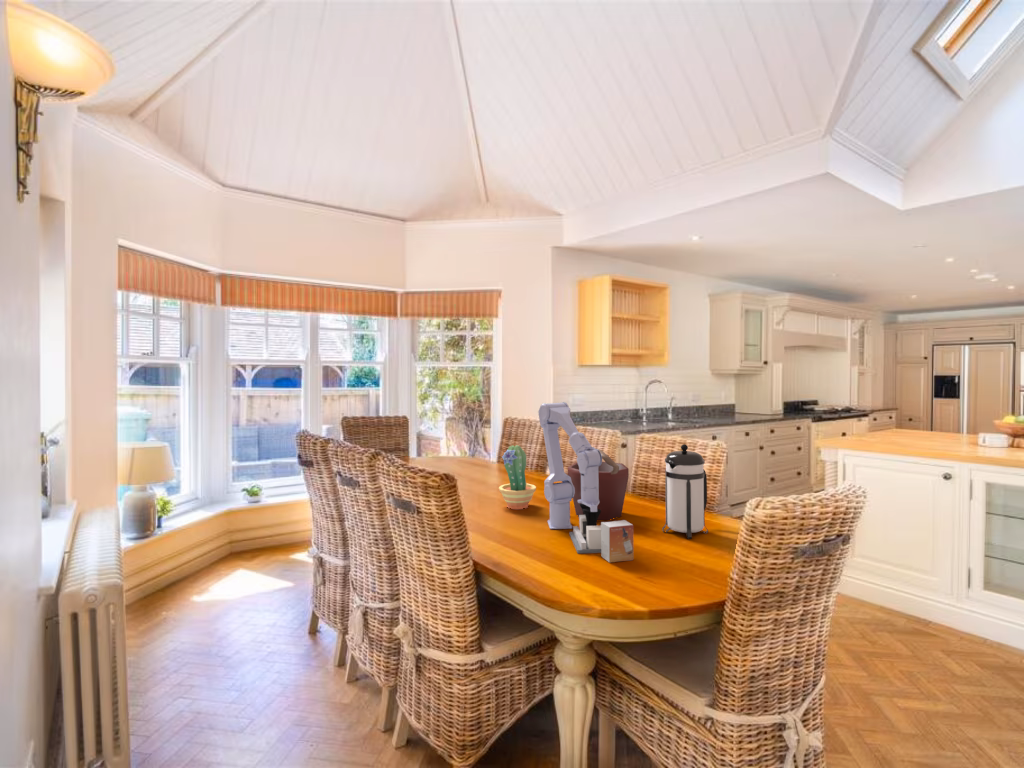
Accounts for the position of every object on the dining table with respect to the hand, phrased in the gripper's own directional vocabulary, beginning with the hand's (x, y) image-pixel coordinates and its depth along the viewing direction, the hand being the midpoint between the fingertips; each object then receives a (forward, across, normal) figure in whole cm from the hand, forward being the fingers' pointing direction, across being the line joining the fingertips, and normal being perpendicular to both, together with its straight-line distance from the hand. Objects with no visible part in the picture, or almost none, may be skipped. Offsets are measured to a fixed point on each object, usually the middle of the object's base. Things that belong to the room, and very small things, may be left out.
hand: (590, 528), depth 172 cm
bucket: (+4, -29, +8) cm, 31 cm away
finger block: (+2, 0, -1) cm, 2 cm away
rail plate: (+4, +2, 0) cm, 5 cm away
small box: (+4, +16, +5) cm, 18 cm away
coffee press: (+4, -6, +34) cm, 35 cm away
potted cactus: (+4, -44, -22) cm, 50 cm away
